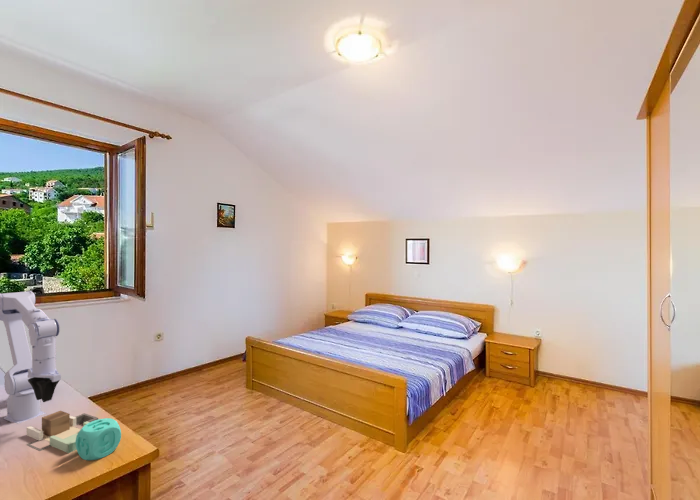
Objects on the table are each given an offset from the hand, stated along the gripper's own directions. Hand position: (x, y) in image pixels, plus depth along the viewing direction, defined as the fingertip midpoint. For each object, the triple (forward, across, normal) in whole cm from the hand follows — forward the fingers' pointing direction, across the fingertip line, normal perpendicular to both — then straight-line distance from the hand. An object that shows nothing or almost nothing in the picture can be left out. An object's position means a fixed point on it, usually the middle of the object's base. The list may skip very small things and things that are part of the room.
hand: (44, 399), depth 112 cm
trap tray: (+9, +12, 0) cm, 15 cm away
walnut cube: (+9, +6, 0) cm, 11 cm away
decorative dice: (+10, +29, 0) cm, 31 cm away
